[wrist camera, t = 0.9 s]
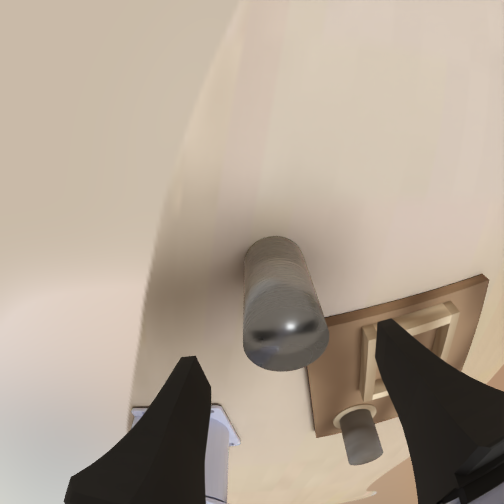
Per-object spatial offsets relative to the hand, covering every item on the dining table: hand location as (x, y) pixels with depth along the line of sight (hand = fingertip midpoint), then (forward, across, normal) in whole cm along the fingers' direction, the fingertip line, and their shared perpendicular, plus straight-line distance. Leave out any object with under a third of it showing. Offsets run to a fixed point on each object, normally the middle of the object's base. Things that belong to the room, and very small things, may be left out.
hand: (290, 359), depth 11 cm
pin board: (+8, -9, +13) cm, 18 cm away
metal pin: (+8, 0, 0) cm, 8 cm away
